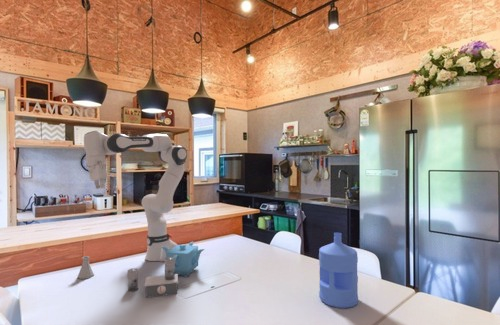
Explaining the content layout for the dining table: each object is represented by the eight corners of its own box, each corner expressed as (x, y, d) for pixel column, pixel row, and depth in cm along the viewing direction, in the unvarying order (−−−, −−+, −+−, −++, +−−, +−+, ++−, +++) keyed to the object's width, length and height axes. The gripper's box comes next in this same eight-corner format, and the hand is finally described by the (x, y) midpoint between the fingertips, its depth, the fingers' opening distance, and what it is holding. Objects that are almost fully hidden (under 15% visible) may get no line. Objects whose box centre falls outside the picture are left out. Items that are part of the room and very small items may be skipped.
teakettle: (171, 282, 138) (171, 252, 138) (160, 270, 154) (160, 243, 154) (207, 274, 149) (206, 246, 149) (193, 263, 164) (192, 238, 164)
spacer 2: (171, 275, 132) (171, 256, 132) (176, 278, 129) (176, 258, 129) (163, 278, 129) (162, 258, 129) (168, 281, 126) (167, 260, 126)
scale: (177, 285, 134) (177, 273, 134) (178, 294, 126) (177, 281, 126) (146, 289, 131) (146, 277, 131) (144, 298, 122) (144, 285, 122)
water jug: (328, 288, 130) (327, 227, 131) (363, 298, 120) (362, 232, 121) (312, 301, 118) (312, 234, 119) (350, 313, 108) (349, 240, 109)
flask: (74, 277, 145) (74, 258, 145) (88, 273, 151) (88, 254, 151) (83, 280, 141) (83, 260, 141) (96, 275, 148) (96, 256, 148)
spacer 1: (135, 286, 134) (135, 267, 134) (139, 289, 131) (139, 269, 131) (126, 289, 131) (126, 270, 131) (130, 292, 128) (130, 272, 128)
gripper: (108, 159, 141) (112, 186, 141) (98, 163, 157) (102, 187, 157) (94, 160, 137) (98, 189, 137) (85, 164, 152) (89, 189, 153)
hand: (100, 188), depth 147 cm, fingers open, 8 cm apart
